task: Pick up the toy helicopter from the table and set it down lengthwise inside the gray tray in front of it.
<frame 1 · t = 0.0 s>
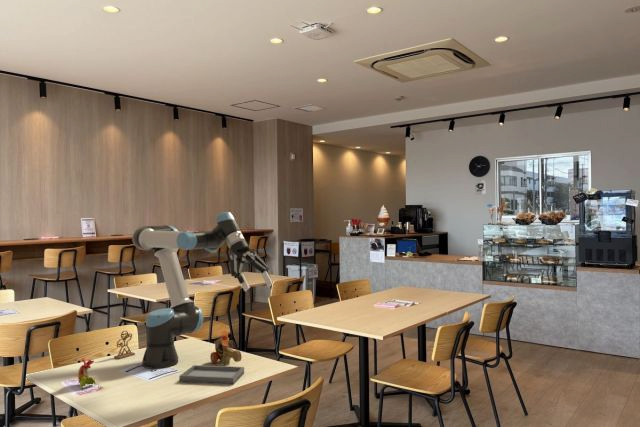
hand: (259, 287, 198), 36 cm above the table, tool tilted 35°, fingers open, 13 cm apart
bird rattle: (83, 386, 187), on the table
gray tray: (212, 377, 196), on the table
wire human figurine: (124, 357, 227), on the table
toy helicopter: (227, 365, 214), on the table
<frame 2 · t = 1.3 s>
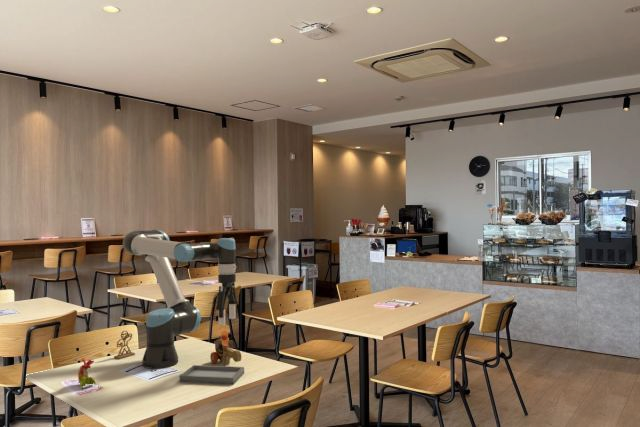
hand: (227, 321, 213), 19 cm above the table, tool pointing down, fingers open, 13 cm apart
nothing on the table moved.
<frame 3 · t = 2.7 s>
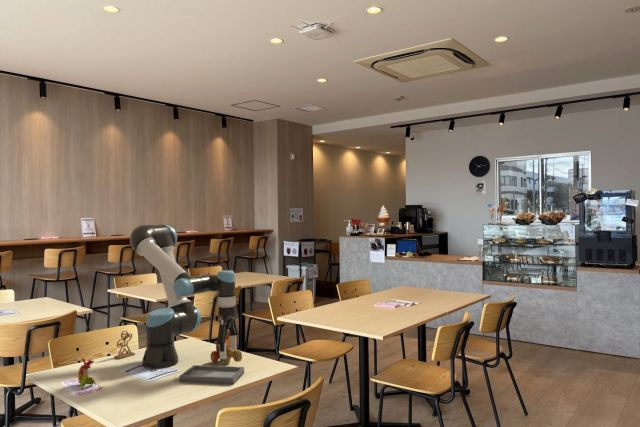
hand: (228, 354, 213), 4 cm above the table, tool pointing down, fingers open, 13 cm apart
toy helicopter: (226, 364, 213), on the table, touching gripper
everything else where it was.
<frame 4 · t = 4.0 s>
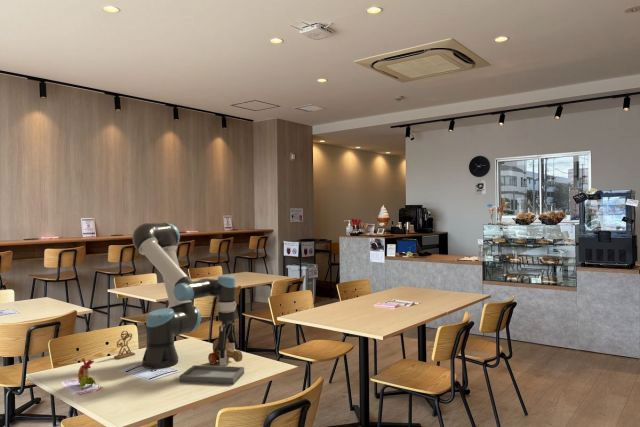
hand: (227, 361, 214), 1 cm above the table, tool pointing down, fingers closed on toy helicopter, 10 cm apart
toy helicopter: (226, 365, 213), on the table, touching gripper
everything else where it was.
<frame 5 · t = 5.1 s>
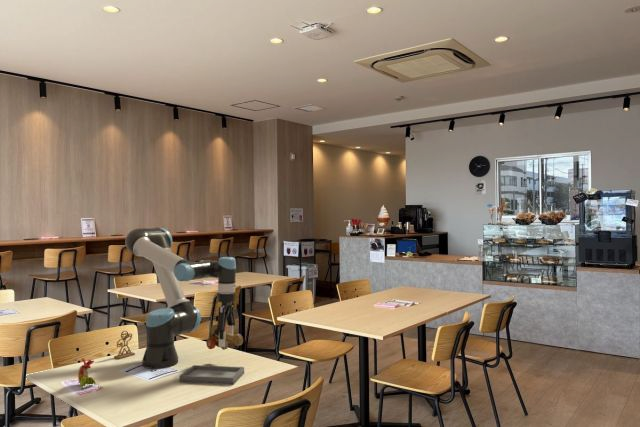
hand: (226, 343, 214), 9 cm above the table, tool pointing down, fingers closed on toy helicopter, 10 cm apart
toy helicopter: (224, 350, 213), point 6 cm above the table, touching gripper
everything else where it was.
when the fingers open (16 cm above the table, at t = 6.6 s): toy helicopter drops 12 cm, resting on gray tray.
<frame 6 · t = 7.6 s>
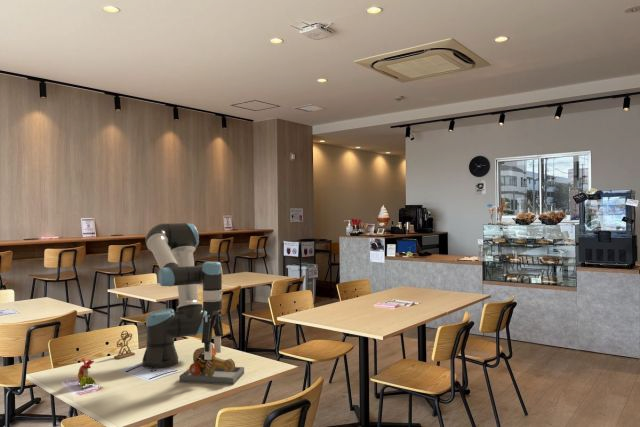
hand: (212, 355, 196), 9 cm above the table, tool pointing down, fingers open, 10 cm apart
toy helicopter: (211, 376, 195), point 1 cm above the table, touching gray tray
everything else where it was.
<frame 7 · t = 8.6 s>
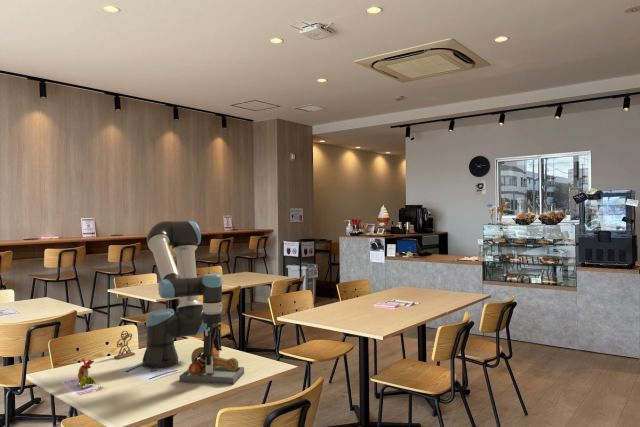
hand: (212, 369, 196), 3 cm above the table, tool pointing down, fingers closed on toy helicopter, 7 cm apart
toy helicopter: (210, 376, 195), point 1 cm above the table, touching gripper, gray tray
everything else where it was.
when the fingers open (3 cm above the table, at t = 8.8 s): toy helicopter moves 2 cm, resting on gray tray.
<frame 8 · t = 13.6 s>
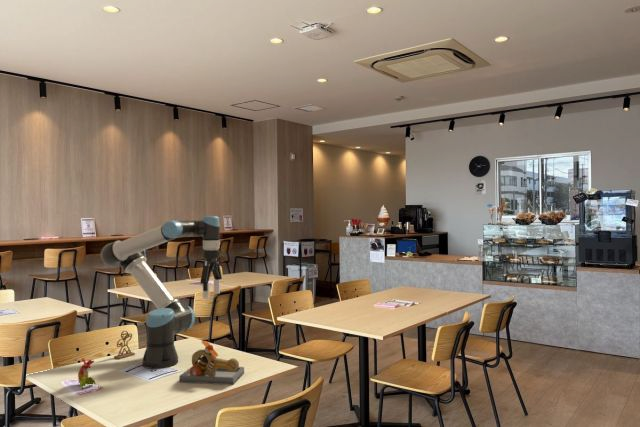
hand: (211, 295, 223), 29 cm above the table, tool pointing down, fingers open, 13 cm apart
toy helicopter: (212, 378, 193), point 1 cm above the table, touching gray tray
everything else where it was.
at the end: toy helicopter inside the target area on the gray tray (3.0 cm from its centre), point 0.8 cm above the gray tray's base; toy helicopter tilted 0°; the gripper is holding nothing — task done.
